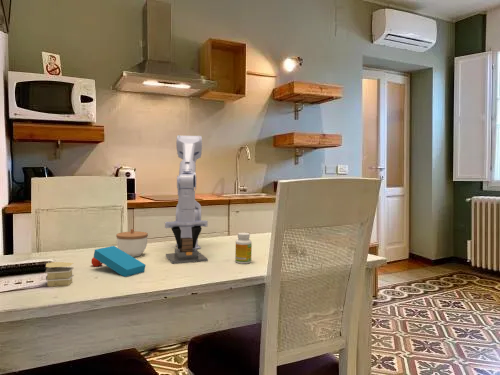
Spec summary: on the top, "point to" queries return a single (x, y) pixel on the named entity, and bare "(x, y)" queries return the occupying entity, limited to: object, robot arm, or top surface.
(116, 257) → the lever
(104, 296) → the top surface
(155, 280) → the top surface
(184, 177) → the robot arm
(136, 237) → the lidded jar
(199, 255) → the socket
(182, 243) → the column
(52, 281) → the stacked layers on plate
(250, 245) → the supplement bottle
